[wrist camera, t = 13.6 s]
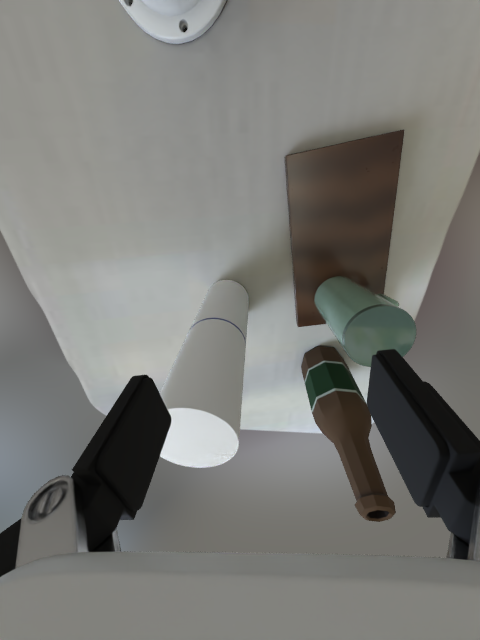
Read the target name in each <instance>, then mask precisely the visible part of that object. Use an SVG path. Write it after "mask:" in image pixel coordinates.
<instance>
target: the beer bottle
mask: <svg viewBox="0 0 480 640" xmlns="http://www.w3.org/2000/svg"><path fill="white" fill-rule="evenodd" d="M301 367H302V373H303V377H304V381H305V385H306V390H307V394H308V398H309V402H310V406H311V410H312V414H313V417H314V419H315V422H316V424H317V426H318V427H319V429H320V430H321V431H322V433H323V434H324V435H325V436H326V437H327V438H328V439H329V440H331V442H333V443H334V445H335V447H336V449H337V450H338V453H339V455H340V458H341V461H342V463H343V466H344V468H345V471H346V474H347V477H348V479H349V482H350V484H351V487H352V490H353V492H354V495H355V498H356V500H357V502H356V504H355V507H356V508H357V510H358V512H359V514H360V515H361V516H362V517H363V518H365V519H366V520H369V521H378V522H380V521H384V520H388V519H390V518H391V517H392V516H393V515H394V514H395V513H396V511H395V505H394V502H393V501H392V500H391V499H390V498H389V497H388V495H387V492H386V490H385V487H384V484H383V481H382V479H381V476H380V473H379V470H378V468H377V465H376V462H375V460H374V457H373V454H372V451H371V448H370V443H369V439H368V437H369V433H370V429H371V426H372V425H371V414H370V412H369V409H368V406H367V404H366V402H365V400H364V398H363V396H362V394H361V392H360V390H359V388H358V386H357V384H356V382H355V380H354V378H353V376H352V374H351V372H350V370H349V368H348V366H347V364H346V363H345V361H344V359H343V358H342V357H341V355H340V354H339V353H338V352H337V350H336V349H335V348H333V347H324V346H317V347H315V348H314V349H312V350H310V351H308V352H307V353H305V355H304V358H303V362H302V366H301Z"/></svg>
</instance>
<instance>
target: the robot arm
mask: <svg viewBox="0 0 480 640" xmlns="http://www.w3.org/2000/svg"><path fill="white" fill-rule="evenodd" d="M119 1H120V2H121V4H122V5H123V7H124V8H125V10H126V12H127V13H128V14H129V15H130V17H131V18H132V19H133V20H134V22H135V23H136V24H137V25H138V26H139V27H140V28H142V29H143V30H144V31H145V32H146V33H147V34H149V35H151V36H152V37H154V38H156V39H157V40H160V41H163V42H166V43H174V44H181V43H185V42H190V41H192V40H194V39H196V38H198V37H199V36H201V35H202V34H203V33H205V32H206V31H207V30H208V29H209V28H210V27H211V26H212V24H213V23H214V22H215V20H216V19H217V18H218V16H219V15H220V13H221V11H222V9H223V7H224V5H225V3H226V1H227V0H119ZM131 2H133V3H132V5H131ZM184 28H187V31H186V32H184ZM367 406H368V409H369V412H370V414H371V416H372V418H373V420H374V422H375V424H376V426H377V428H378V430H379V432H380V434H381V436H382V438H383V440H384V442H385V444H386V446H387V448H388V450H389V452H390V454H391V455H392V458H393V460H394V462H395V464H396V466H397V468H398V470H399V472H400V474H401V476H402V478H403V480H404V482H405V484H406V486H407V488H408V490H409V492H410V494H411V496H412V498H413V500H414V502H415V503H416V504H417V505H418V506H422V507H423V509H424V511H425V513H426V515H427V517H441V518H442V520H443V521H444V523H445V525H446V527H447V529H448V530H449V531H450V532H451V535H450V540H449V547H448V552H447V558H440V557H438V558H437V557H414V556H389V555H388V556H387V555H347V554H294V553H222V552H121V548H120V544H119V538H118V533H117V528H116V527H117V525H118V522H119V520H133V519H134V518H135V515H136V512H137V510H139V509H140V508H141V506H142V504H143V502H144V499H145V496H146V493H147V490H148V487H149V485H150V482H151V479H152V476H153V473H154V471H155V467H156V465H157V462H158V459H159V457H160V454H161V451H162V448H163V445H164V443H165V440H166V437H167V434H168V431H169V428H170V426H171V416H170V414H169V412H168V410H167V408H166V406H165V404H164V402H163V399H162V397H161V395H160V393H159V391H158V389H157V387H156V385H155V383H154V381H153V380H152V378H149V377H148V376H147V375H139V376H133V377H132V378H131V379H130V381H129V382H128V384H127V385H126V387H125V388H124V390H123V392H122V393H121V395H120V396H119V398H118V399H117V401H116V402H115V404H114V406H113V407H112V409H111V410H110V412H109V413H108V415H107V416H106V418H105V419H104V421H103V423H102V424H101V426H100V427H99V429H98V430H97V432H96V434H95V435H94V436H93V438H92V440H91V441H90V443H89V444H88V446H87V447H86V449H85V450H84V452H83V454H82V455H81V457H80V458H79V460H78V461H77V463H76V464H75V466H74V467H73V469H72V470H73V471H74V473H73V474H72V476H71V477H70V476H66V475H62V476H58V477H56V478H54V479H52V480H50V481H48V482H47V483H46V484H44V485H43V486H42V487H41V488H40V489H39V490H38V491H37V492H36V493H34V495H33V496H32V497H31V499H30V500H29V501H28V503H27V505H26V507H25V509H24V511H23V514H22V518H21V519H20V520H18V521H17V522H15V523H14V524H13V525H11V526H10V527H9V528H7V529H6V530H4V531H3V532H2V533H1V534H0V640H480V441H479V440H478V438H477V437H476V436H475V435H474V434H473V433H472V431H471V430H470V429H469V428H468V427H467V426H466V425H465V423H464V422H463V421H462V420H461V419H460V418H459V417H458V415H457V414H456V413H455V412H454V411H453V410H452V409H451V408H450V406H449V405H448V404H447V403H446V402H445V401H444V400H443V398H442V397H441V396H440V395H439V394H438V393H437V391H436V390H435V389H434V388H433V387H432V386H431V385H430V384H429V383H427V382H423V381H422V380H421V379H420V378H419V376H418V375H417V374H416V373H415V372H414V370H413V369H412V368H411V367H410V366H409V364H408V363H407V362H406V361H405V360H404V359H403V357H402V356H401V355H400V354H399V353H398V351H397V350H395V349H389V350H379V351H377V353H376V355H373V356H372V361H371V370H370V379H369V388H368V397H367Z"/></svg>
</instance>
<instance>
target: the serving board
mask: <svg viewBox="0 0 480 640" xmlns="http://www.w3.org/2000/svg"><path fill="white" fill-rule="evenodd" d="M403 137H404V130H400V131H395V132H391V133H386V134H381V135H377V136H372V137H368V138H363V139H359V140H354V141H350V142H345V143H341V144H336V145H332V146H327V147H323V148H318V149H314V150H309V151H305V152H300V153H296V154H291V155H287V156H285V169H286V183H287V197H288V210H289V224H290V238H291V252H292V265H293V279H294V293H295V307H296V320H297V325H298V327H302V326H311V325H319V324H327V323H326V322H325V320H324V319H323V317H322V316H321V314H320V313H319V311H318V310H317V308H316V306H315V301H314V299H315V294H316V291H317V289H318V287H319V286H320V285H321V284H322V283H323V282H324V281H326V280H327V279H330V278H332V277H337V276H343V277H347V278H349V279H351V280H353V281H355V282H357V283H358V284H360V285H362V286H363V287H365V288H367V289H368V290H370V291H372V292H374V293H375V294H380V293H381V294H384V287H385V279H386V271H387V263H388V255H389V247H390V239H391V232H392V224H393V216H394V208H395V200H396V192H397V184H398V176H399V168H400V160H401V152H402V145H403Z"/></svg>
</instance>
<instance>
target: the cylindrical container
mask: <svg viewBox="0 0 480 640" xmlns="http://www.w3.org/2000/svg"><path fill="white" fill-rule="evenodd" d="M248 306H249V297H248V294H247V291H246V290H245V288H244V287H243V286H242V285H241V284H239V283H238V282H235V281H232V280H221V281H218V282H216V283H214V284H213V285H212V286H211V287H210V288H209V290H208V292H207V294H206V296H205V298H204V300H203V303H202V305H201V307H200V309H199V311H198V313H197V315H196V317H195V319H194V321H193V324H192V326H191V328H190V330H189V332H188V334H187V336H186V338H185V341H184V343H183V345H182V347H181V349H180V351H179V353H178V355H177V358H176V360H175V362H174V364H173V366H172V368H171V370H170V372H169V375H168V377H167V379H166V381H165V383H164V385H163V387H162V389H161V391H160V395H161V397H162V399H163V402H164V404H165V406H166V408H167V410H168V412H169V414H170V416H171V426H170V428H169V431H168V434H167V437H166V440H165V443H164V445H163V448H162V451H161V454H160V457H162V458H164V459H166V460H168V461H170V462H173V463H175V464H179V465H183V466H187V467H196V468H203V467H212V466H217V465H220V464H223V463H225V462H227V461H229V459H231V458H232V457H233V456H234V455H235V454H236V452H237V450H238V447H239V446H238V445H239V432H240V419H241V404H242V390H243V376H244V362H245V348H246V334H247V320H248Z"/></svg>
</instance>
